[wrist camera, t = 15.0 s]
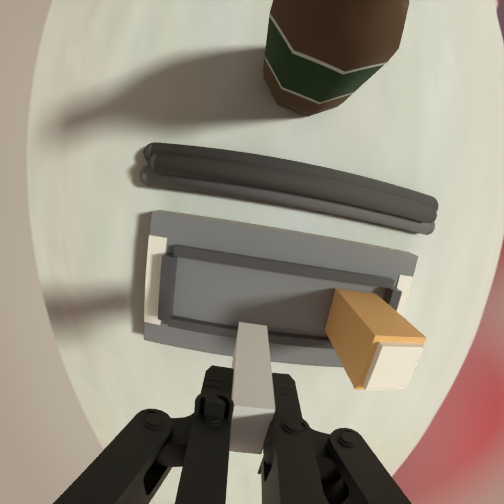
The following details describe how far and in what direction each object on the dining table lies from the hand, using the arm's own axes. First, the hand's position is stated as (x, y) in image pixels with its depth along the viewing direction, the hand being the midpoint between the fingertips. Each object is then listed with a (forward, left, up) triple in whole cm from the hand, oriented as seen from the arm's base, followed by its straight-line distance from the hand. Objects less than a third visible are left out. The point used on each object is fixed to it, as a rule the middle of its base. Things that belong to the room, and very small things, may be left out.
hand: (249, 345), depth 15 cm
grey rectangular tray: (+1, +3, -11) cm, 12 cm away
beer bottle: (-19, +2, -12) cm, 23 cm away
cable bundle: (-9, +3, -11) cm, 15 cm away
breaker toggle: (+1, +9, -9) cm, 13 cm away
